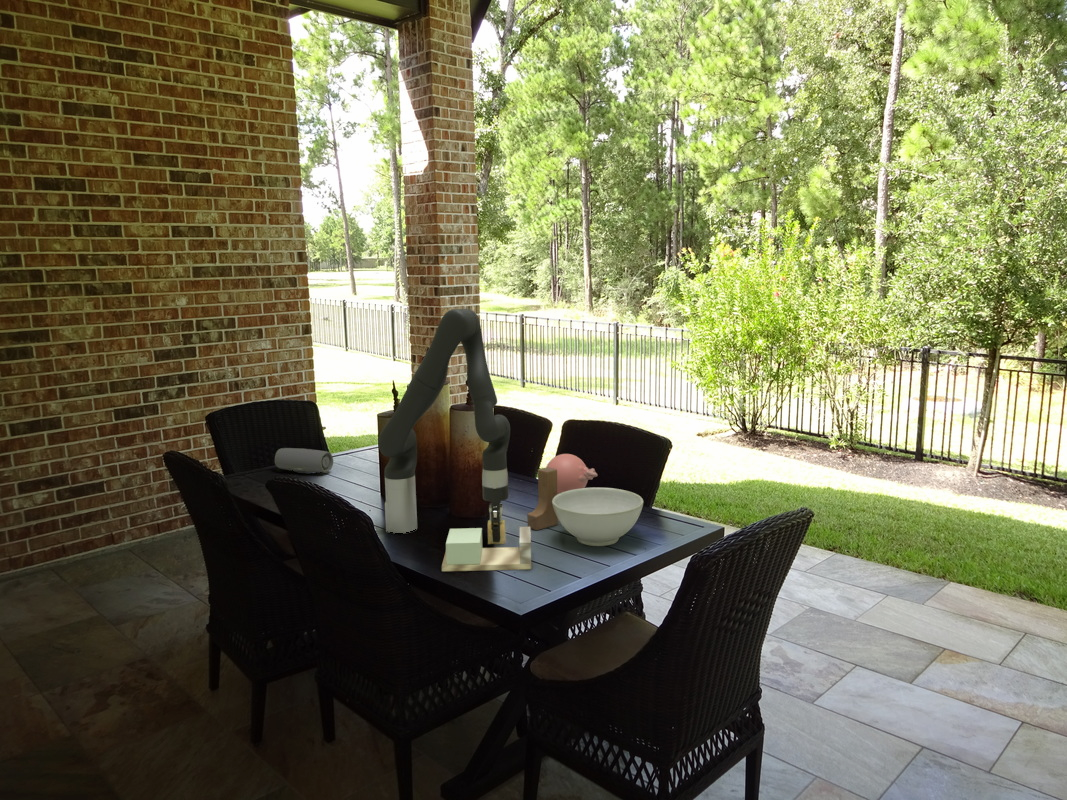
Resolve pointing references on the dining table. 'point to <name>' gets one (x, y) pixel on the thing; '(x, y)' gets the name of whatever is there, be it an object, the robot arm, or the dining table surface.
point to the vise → (500, 557)
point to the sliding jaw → (464, 546)
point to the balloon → (571, 472)
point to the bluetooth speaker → (303, 460)
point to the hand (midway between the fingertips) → (496, 537)
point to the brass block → (502, 533)
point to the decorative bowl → (597, 513)
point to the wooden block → (544, 500)
